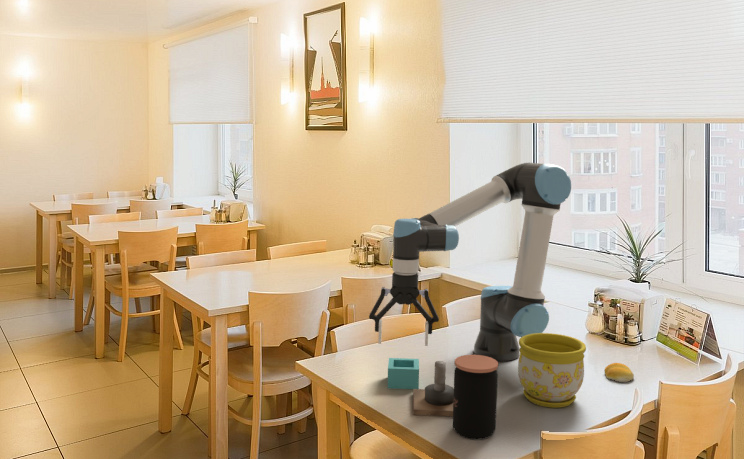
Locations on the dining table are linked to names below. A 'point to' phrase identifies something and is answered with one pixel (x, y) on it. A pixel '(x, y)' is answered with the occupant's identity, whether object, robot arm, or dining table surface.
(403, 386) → the collar
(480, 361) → the coffee jar
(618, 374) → the bread roll
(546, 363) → the flowerpot
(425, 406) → the post stand
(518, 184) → the robot arm
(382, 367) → the dining table surface
